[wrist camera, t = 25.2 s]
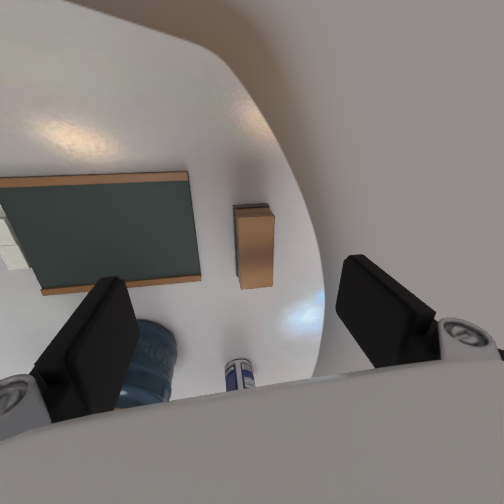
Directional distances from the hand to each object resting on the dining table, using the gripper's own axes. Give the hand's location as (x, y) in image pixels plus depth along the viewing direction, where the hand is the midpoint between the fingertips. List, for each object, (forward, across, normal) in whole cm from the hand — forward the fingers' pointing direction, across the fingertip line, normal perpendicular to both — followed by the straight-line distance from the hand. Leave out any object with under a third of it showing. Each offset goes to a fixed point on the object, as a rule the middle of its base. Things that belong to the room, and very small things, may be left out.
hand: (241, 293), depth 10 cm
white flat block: (+24, +28, +4) cm, 37 cm away
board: (+24, +15, +6) cm, 29 cm away
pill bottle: (+24, -1, +36) cm, 44 cm away
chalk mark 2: (+24, +28, +8) cm, 38 cm away
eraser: (+24, -4, +8) cm, 26 cm away
